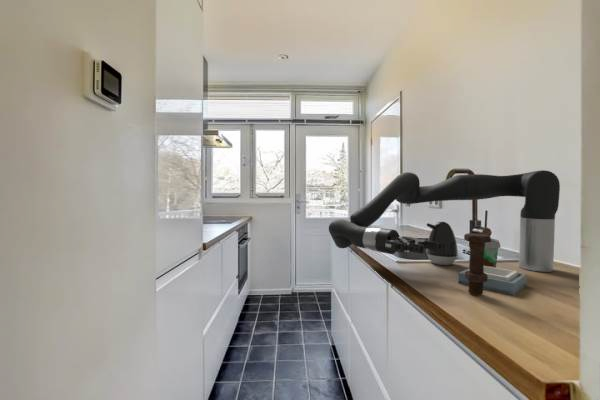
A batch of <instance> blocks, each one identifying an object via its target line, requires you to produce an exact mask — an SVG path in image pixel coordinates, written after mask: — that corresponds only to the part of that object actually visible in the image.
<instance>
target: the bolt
mask: <svg viewBox="0 0 600 400" xmlns="http://www.w3.org/2000/svg"><path fill="white" fill-rule="evenodd" d="M463 239H464V241H467V242H468V247H469V257H468V258H469V260H468V261H469V264H468V268H469V270H470V271H466V272H465V278H466V279H467V280H469V285H468V290H467V291H468V293H469V294H470V295H471V296H479V297H480V296H483V294H484V289H483V283H484V282H486V281H488V276H487V274H486V273H484V272H483V271H484V268H483V267H484V265H483V264H484V257H483V256H484V248H485V242H491V239H492V237H491V236H490V235H489V234H483V233H465V234H464V235H463Z"/></svg>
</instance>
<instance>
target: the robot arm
mask: <svg viewBox="0 0 600 400" xmlns="http://www.w3.org/2000/svg"><path fill="white" fill-rule="evenodd" d="M560 187H561V183H560V180H559V178H558V175H556V174H555V173H554V172H552V171H550V170H535V171H529V172H525V173H524V172H523V173H519V174H509V175H492V174H481V173H479V174H460V175H459V174H458V175H454V176H452V177H449V178H447V179H445V180H443V181H440V182H439V183H436V184H433V185H425V186H424V185H423V186H421V185H420V179H419V177H418V175H417V174H416V173H413V172H409V171H407V172H402V173H400V174H398V175H397V176H396V177H395V178H393V179H392V180H391V182H389V183H388V185H386V186H385V188H383V189H382V190H381V191H380V192H379V193H378V194H377V195H376V196H375V197H373V199H371V200H370V201H369V202H368V203H366V204H365V205H363V206H362V207H360V208H359V209H357V210H356V211H355V212H353V213H352V214H351V215H350V216H349V221H348V220H346V219H341V218H340V219H334V220H333V221H332V222H331V223H329V226H328V231H329V232H328V233H329V234H330V236H331V238H332V241H333V242H334V244H335V246H336V247H337V248H339V249H347V248H349V247H351V246H352V245H353V246H354V247H357V248H362V249H367V250H371V251H372V252H379V253H384V254H389V255H394V254H395V253H396V252H398V253H402V254H403V253H416V254H421V255H422V254H424V253H425V251H426V250H425V249H432V250H438V245H439V244H438V242H432V241H428V239H427V238H421V237H420V238H419V237H413V236H412V237H411V236H407V235H403V236H400V235H399V232H398V231H397V230H396V229H390V228H383V227H382V228H381V227H370V226H371V225H373V224H375V222H376V221H378V219H380V218H381V217H382V216H383V214H384V213H385V212H386V210H387V209H388V208H389V207H390V206H391V204H392V203H393V202H394V201H397V202H398V203H400V204H403V205H413V204H414V205H415V204H420V203H421V204H422V203H423V204H424V203H429V202H445V201H472V200H473V201H477V200H485V199H486V200H487V199H494V198H499V197H518V198H519V197H522V198H524V199H525V200H524V205H523V207H522V209H520V221H519V249H518V250H519V252H518V267H519V268H521V269H523V270H529V271H535V272H543V273H550V272H554V259H555V258H554V257H555V255H554V254H555V228H556V213H557V212H558V209H559V203H560V190H561V188H560ZM420 242H421V244H420Z"/></svg>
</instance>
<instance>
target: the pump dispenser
mask: <svg viewBox="0 0 600 400" xmlns="http://www.w3.org/2000/svg"><path fill="white" fill-rule="evenodd" d="M426 226H427V227H428V228H430V229H431V231H430V233H429V236H428V239H427V241H432V242H438V244H439V245H438V250H432V249H426V248H425V249H426V250H425V251H426V255H427V258H428V259H429V261H430V262H431V263H433V264H434V265H438V266H449V265H452V264H454V263H455V261H456V260H457V257H458V255H459V250H458V244H457V238H456V236H455V232H454V230H453V228H452V227H451V225H450V224H449V223H448V222H445V221H439V222H437V223H435V224H432V223H426Z"/></svg>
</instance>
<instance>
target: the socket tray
mask: <svg viewBox="0 0 600 400" xmlns="http://www.w3.org/2000/svg"><path fill="white" fill-rule="evenodd" d="M483 268H484V271H483V272H484V273H486V274H487V276H488V281H486V282H484V283H483V290H487V291H491V292H496V293H500V294H506V295H510V296H515V295H516V294H517V293H518V292H519V291H521V290H522V289H523V288H524V287H526V286H527V273H519V272H518V270H512V269H506V268H499V267H496V268H495V267H489V266H484V267H483ZM466 271H470V270H469V267H468V268H467V269H464V270H462V271H459V272H458V281H457V282H458V284H461V285H464V286H469V280H467V279H466V278H465V272H466Z"/></svg>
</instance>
